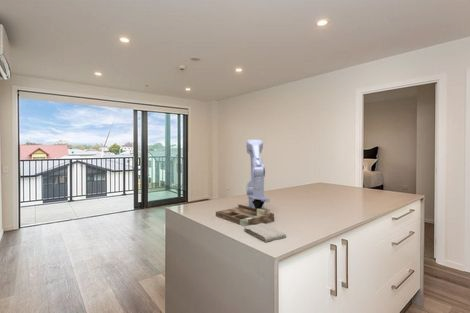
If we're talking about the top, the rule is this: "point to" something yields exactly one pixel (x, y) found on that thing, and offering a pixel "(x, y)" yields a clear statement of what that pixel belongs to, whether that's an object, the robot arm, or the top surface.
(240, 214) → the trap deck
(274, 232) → the washcloth
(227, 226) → the top surface
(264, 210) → the birch block
